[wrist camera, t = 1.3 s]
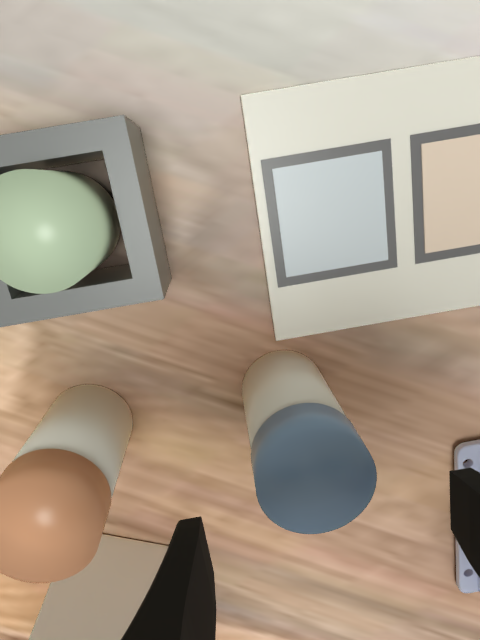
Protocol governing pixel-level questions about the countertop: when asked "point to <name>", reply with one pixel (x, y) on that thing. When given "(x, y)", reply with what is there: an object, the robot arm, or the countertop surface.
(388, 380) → the countertop surface
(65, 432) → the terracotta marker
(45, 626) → the milk
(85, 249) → the button
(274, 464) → the cylinder
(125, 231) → the button housing
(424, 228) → the sheet
